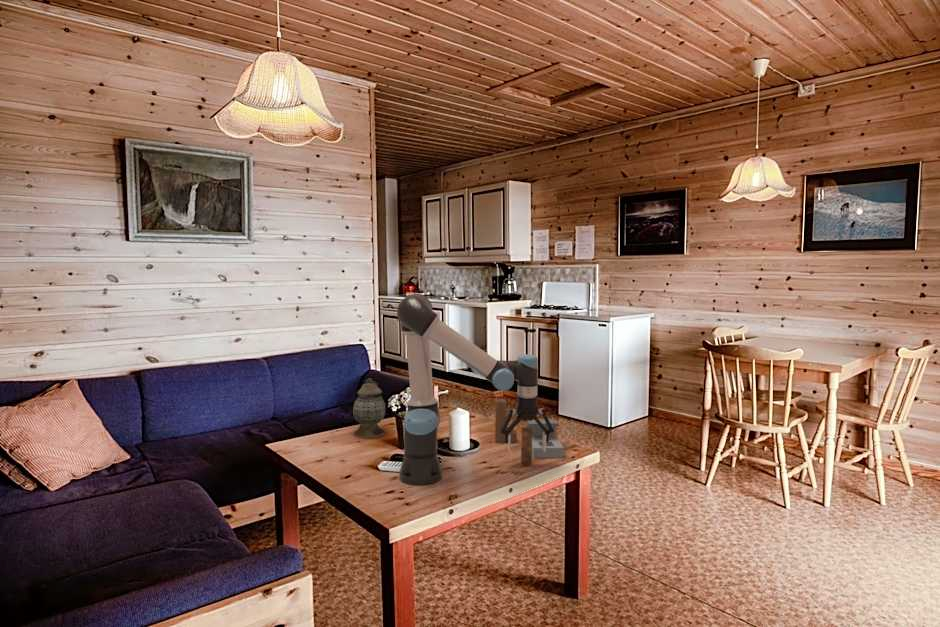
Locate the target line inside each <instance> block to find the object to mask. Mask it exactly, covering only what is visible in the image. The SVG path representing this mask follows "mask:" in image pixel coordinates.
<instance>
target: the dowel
mask: <svg viewBox="0 0 940 627" xmlns="http://www.w3.org/2000/svg"><path fill="white" fill-rule="evenodd" d="M520 440H521V445H520V446H521V447H520V449H521V450H520V457H521V458H520V465H521V466H524V467H531V466H532V465H533V464H532V463H533V460H532V459H533V456H532V428H531V427H527V426H522V427H521V439H520Z"/></svg>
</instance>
